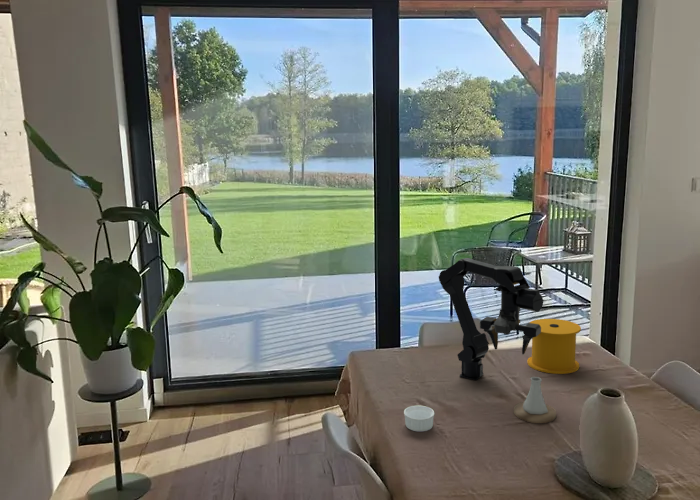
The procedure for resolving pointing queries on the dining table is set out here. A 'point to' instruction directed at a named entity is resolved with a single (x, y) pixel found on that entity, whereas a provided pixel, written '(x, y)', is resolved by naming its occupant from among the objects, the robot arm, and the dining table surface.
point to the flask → (535, 398)
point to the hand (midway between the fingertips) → (509, 351)
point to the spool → (554, 347)
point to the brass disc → (535, 417)
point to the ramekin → (419, 418)
